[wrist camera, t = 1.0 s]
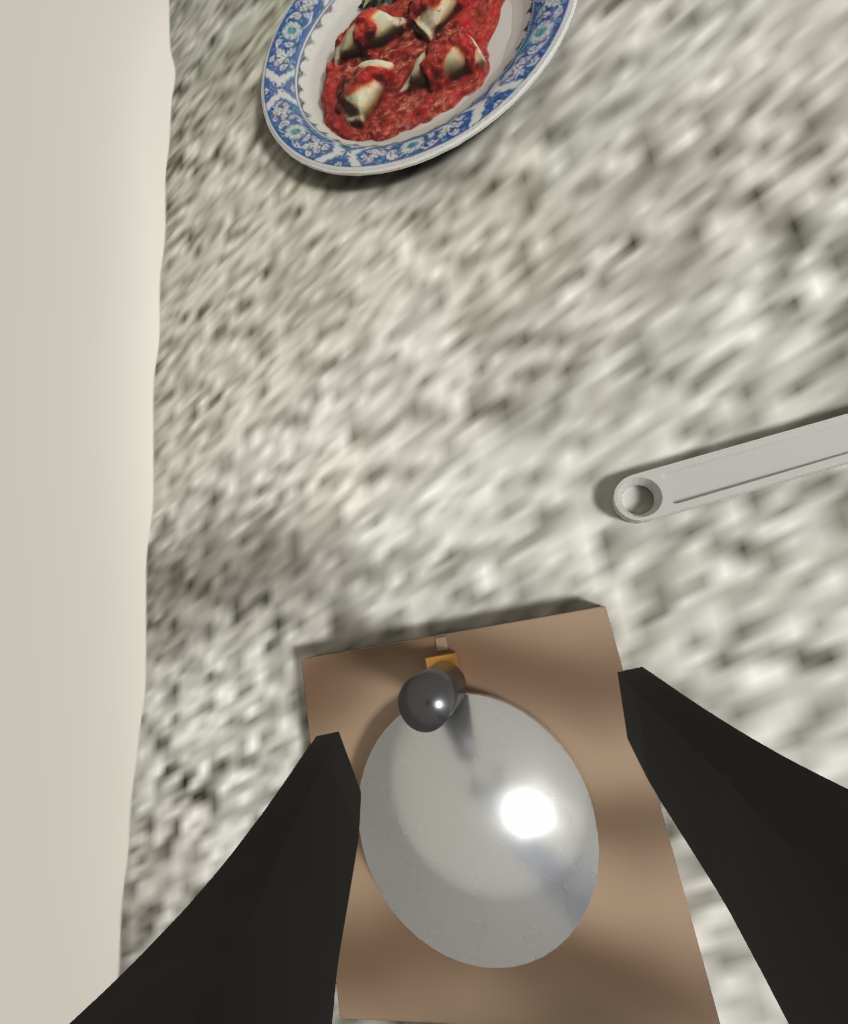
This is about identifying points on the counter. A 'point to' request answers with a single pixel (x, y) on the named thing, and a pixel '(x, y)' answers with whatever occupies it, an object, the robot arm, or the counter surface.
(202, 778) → the counter surface
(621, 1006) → the dial board
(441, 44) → the ceramic plate
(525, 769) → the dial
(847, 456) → the adjustable wrench
